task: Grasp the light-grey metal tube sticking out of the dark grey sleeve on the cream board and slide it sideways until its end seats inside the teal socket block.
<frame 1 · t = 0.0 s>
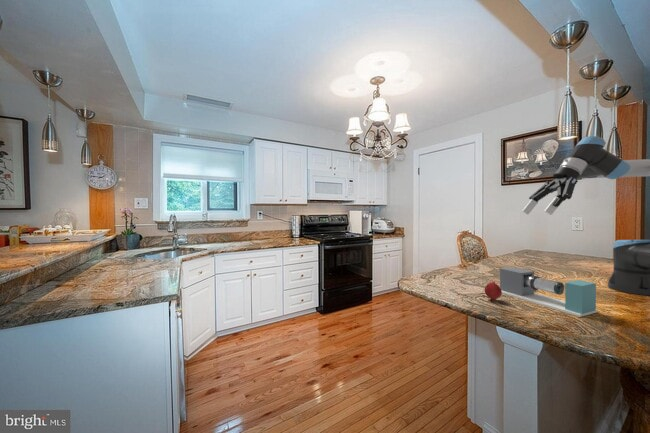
hand: (535, 212, 103), 36 cm above the counter, tool tilted 35°, fingers open, 13 cm apart
board: (541, 300, 98), on the counter
socket: (580, 312, 87), resting on board
sleeve: (516, 293, 107), resting on board
onion: (493, 300, 100), on the counter
slip tube: (532, 282, 101), point 7 cm above the counter, slide at 0.0 cm
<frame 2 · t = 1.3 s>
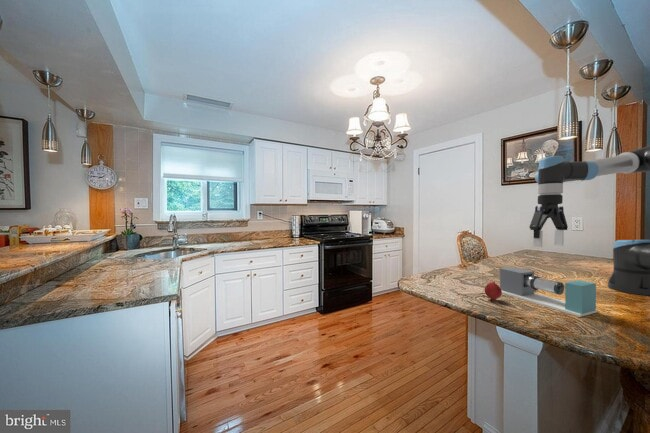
hand: (548, 245, 100), 22 cm above the counter, tool pointing down, fingers open, 13 cm apart
nothing on the counter moved.
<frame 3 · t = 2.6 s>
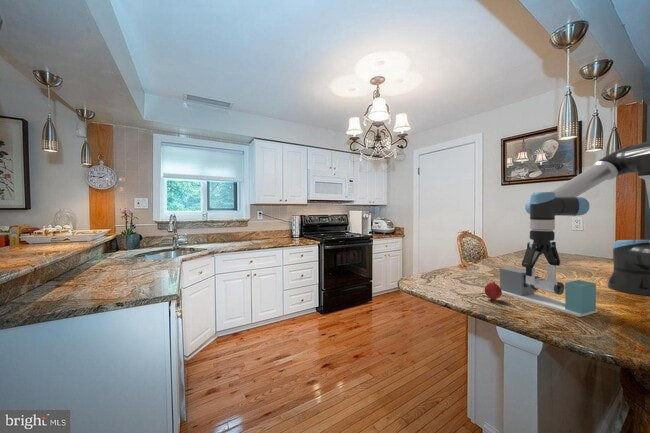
hand: (541, 282, 98), 8 cm above the counter, tool pointing down, fingers open, 13 cm apart
nothing on the counter moved.
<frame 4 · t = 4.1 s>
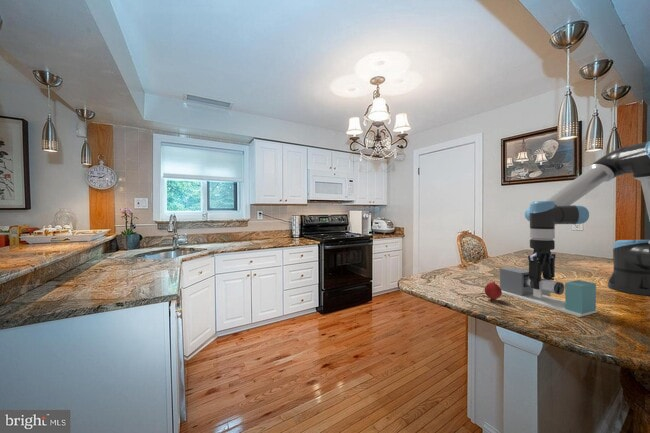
hand: (541, 296, 98), 2 cm above the counter, tool pointing down, fingers closed on slip tube, 5 cm apart
slip tube: (532, 282, 101), point 7 cm above the counter, slide at 0.0 cm, touching gripper
everything else where it was.
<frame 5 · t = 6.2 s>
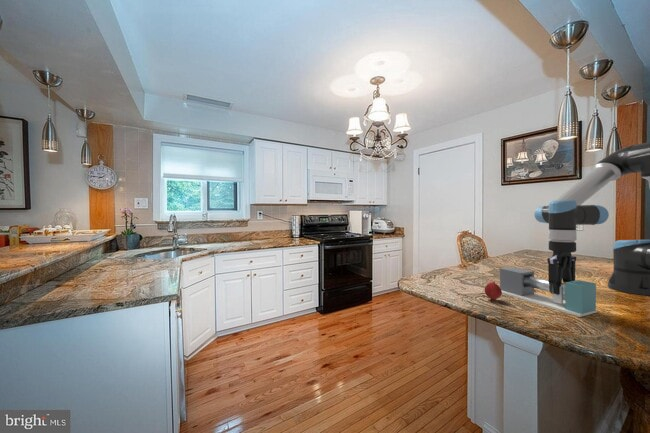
hand: (561, 301, 92), 2 cm above the counter, tool pointing down, fingers closed on slip tube, 5 cm apart
slip tube: (550, 286, 95), point 7 cm above the counter, slide at 6.5 cm, touching gripper
everything else where it was.
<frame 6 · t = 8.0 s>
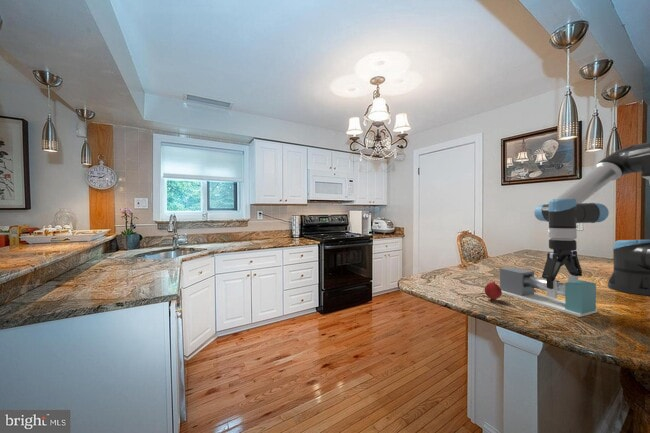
hand: (562, 294, 92), 5 cm above the counter, tool pointing down, fingers open, 13 cm apart
slip tube: (550, 286, 95), point 7 cm above the counter, slide at 6.5 cm
everything else where it was.
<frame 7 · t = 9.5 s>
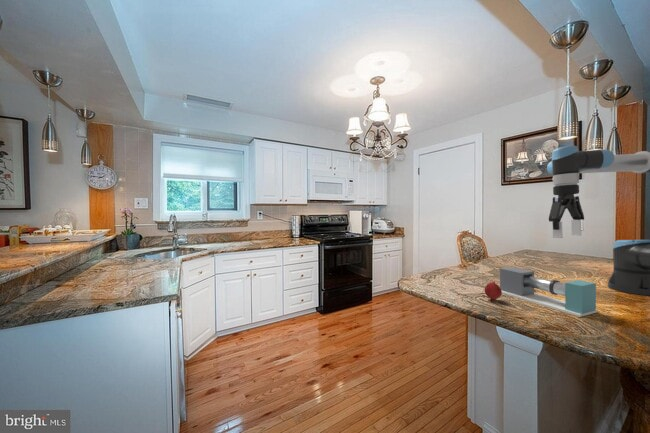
hand: (567, 236, 99), 26 cm above the counter, tool pointing down, fingers open, 13 cm apart
nothing on the counter moved.
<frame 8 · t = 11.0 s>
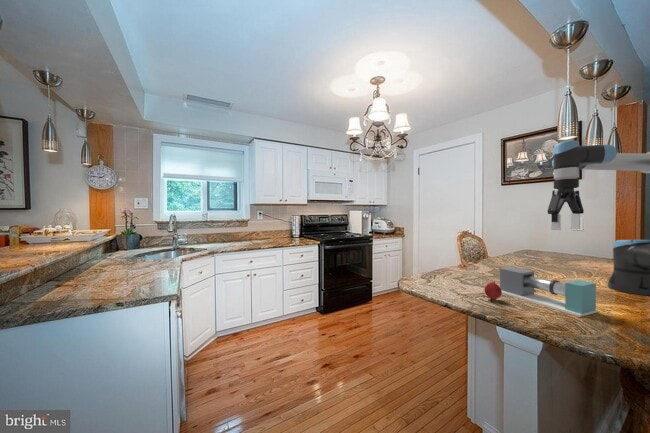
hand: (565, 229, 101), 29 cm above the counter, tool pointing down, fingers open, 13 cm apart
nothing on the counter moved.
at the end: slip tube slide at 6.5 cm; the gripper is holding nothing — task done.
